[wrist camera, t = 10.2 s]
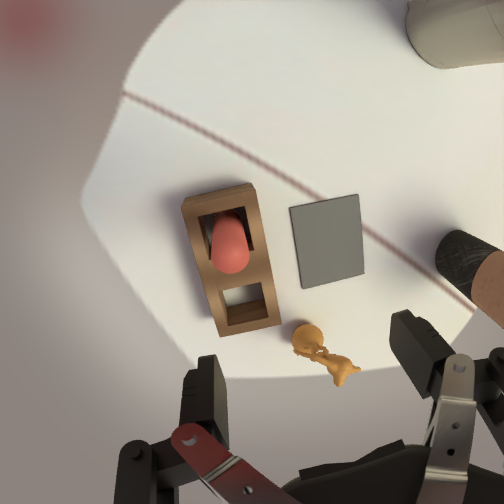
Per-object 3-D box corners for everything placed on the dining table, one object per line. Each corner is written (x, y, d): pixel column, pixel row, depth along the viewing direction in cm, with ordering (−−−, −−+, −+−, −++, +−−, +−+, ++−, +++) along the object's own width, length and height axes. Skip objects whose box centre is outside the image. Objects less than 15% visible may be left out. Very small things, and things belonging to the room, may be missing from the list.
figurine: (268, 333, 39) (286, 402, 28) (292, 295, 37) (319, 360, 26) (321, 349, 41) (349, 413, 30) (345, 315, 39) (382, 376, 28)
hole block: (185, 198, 32) (180, 207, 28) (251, 182, 32) (255, 189, 28) (219, 317, 37) (219, 337, 34) (275, 305, 38) (281, 324, 34)
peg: (210, 212, 33) (206, 242, 24) (238, 205, 33) (245, 234, 24) (217, 238, 34) (216, 277, 25) (244, 232, 34) (253, 269, 25)
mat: (289, 207, 33) (290, 208, 33) (357, 194, 33) (358, 194, 33) (302, 288, 37) (303, 289, 37) (363, 272, 37) (364, 273, 37)
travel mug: (433, 284, 39) (522, 368, 21) (432, 236, 36) (541, 310, 18) (469, 268, 39) (558, 337, 21) (471, 221, 36) (575, 281, 18)
